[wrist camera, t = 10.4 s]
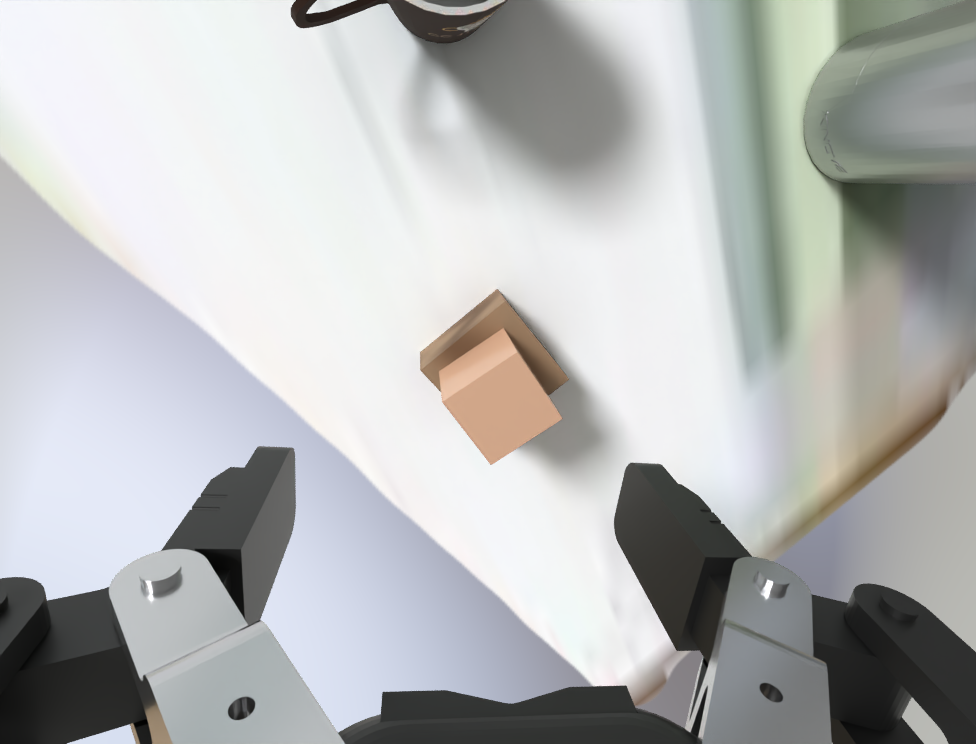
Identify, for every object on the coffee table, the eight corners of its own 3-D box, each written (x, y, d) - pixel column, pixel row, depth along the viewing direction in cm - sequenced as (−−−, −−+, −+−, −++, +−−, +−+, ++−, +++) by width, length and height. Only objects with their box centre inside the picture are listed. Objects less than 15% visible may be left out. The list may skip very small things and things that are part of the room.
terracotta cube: (503, 327, 33) (517, 352, 28) (543, 387, 35) (562, 418, 30) (438, 371, 33) (442, 401, 29) (481, 427, 35) (491, 465, 31)
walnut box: (496, 288, 36) (505, 300, 32) (554, 360, 39) (569, 379, 35) (420, 351, 37) (420, 370, 33) (481, 417, 39) (488, 442, 36)
